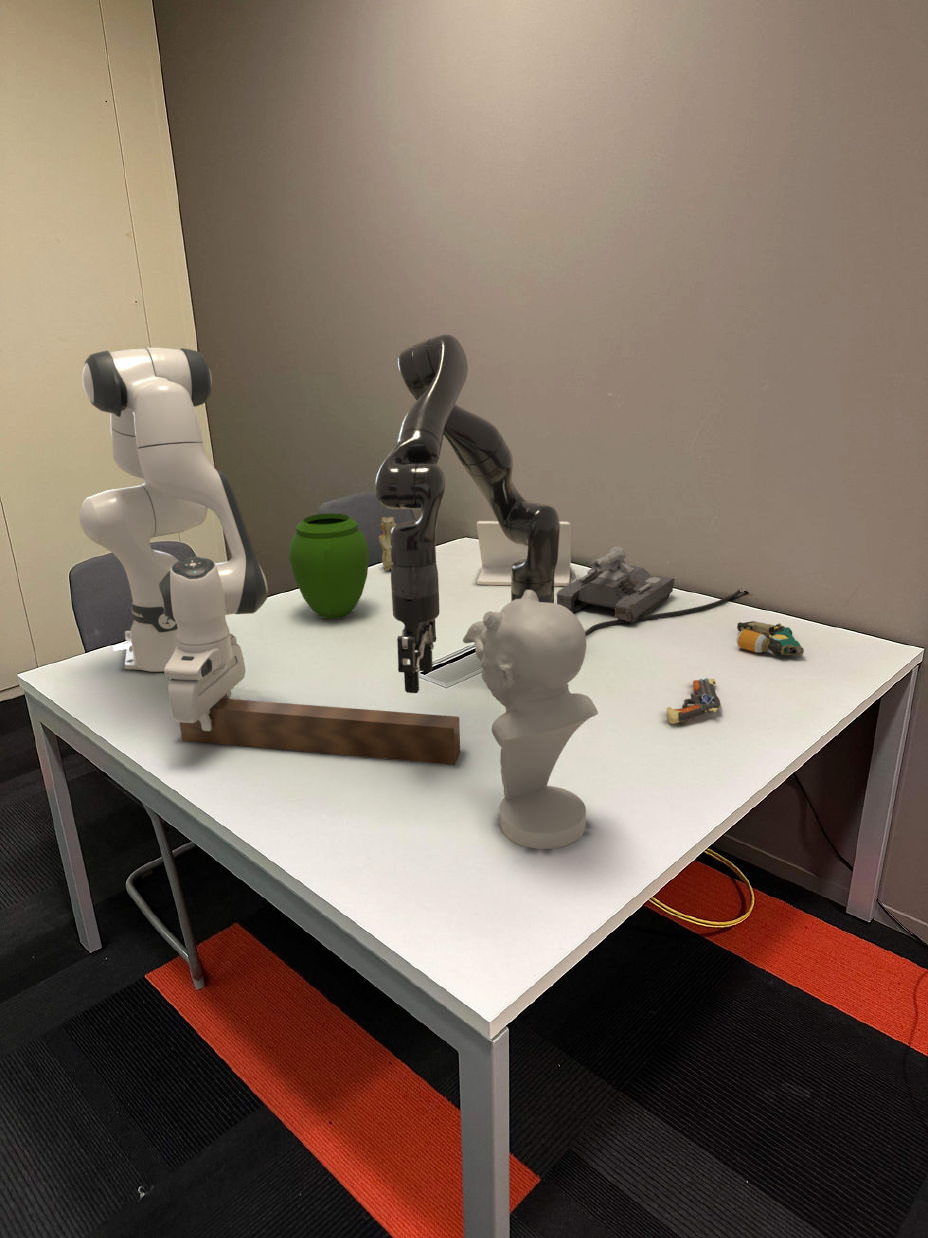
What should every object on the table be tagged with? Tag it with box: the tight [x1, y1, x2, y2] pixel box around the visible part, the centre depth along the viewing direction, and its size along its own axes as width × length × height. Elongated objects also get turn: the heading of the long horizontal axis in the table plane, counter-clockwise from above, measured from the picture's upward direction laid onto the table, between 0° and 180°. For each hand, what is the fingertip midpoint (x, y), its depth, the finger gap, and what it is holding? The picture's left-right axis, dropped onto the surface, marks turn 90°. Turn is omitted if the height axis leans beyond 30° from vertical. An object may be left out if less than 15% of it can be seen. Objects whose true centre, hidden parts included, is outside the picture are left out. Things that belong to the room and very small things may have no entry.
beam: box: [178, 698, 461, 766], centre depth 149 cm, size 51×4×7 cm, turn 77°
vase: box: [288, 512, 370, 620], centre depth 209 cm, size 20×20×24 cm
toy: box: [556, 546, 676, 624], centre depth 212 cm, size 25×20×15 cm
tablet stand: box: [476, 520, 572, 587], centre depth 236 cm, size 18×25×17 cm
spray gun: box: [736, 620, 805, 657], centre depth 187 cm, size 4×17×15 cm
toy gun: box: [666, 677, 722, 724], centre depth 161 cm, size 3×19×10 cm
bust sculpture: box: [462, 590, 599, 850], centre depth 124 cm, size 16×24×35 cm
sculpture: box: [378, 516, 397, 572], centre depth 246 cm, size 6×7×15 cm
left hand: (216, 722), depth 154 cm, fingers closed on beam, 4 cm apart
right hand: (419, 681), depth 141 cm, fingers open, 8 cm apart
